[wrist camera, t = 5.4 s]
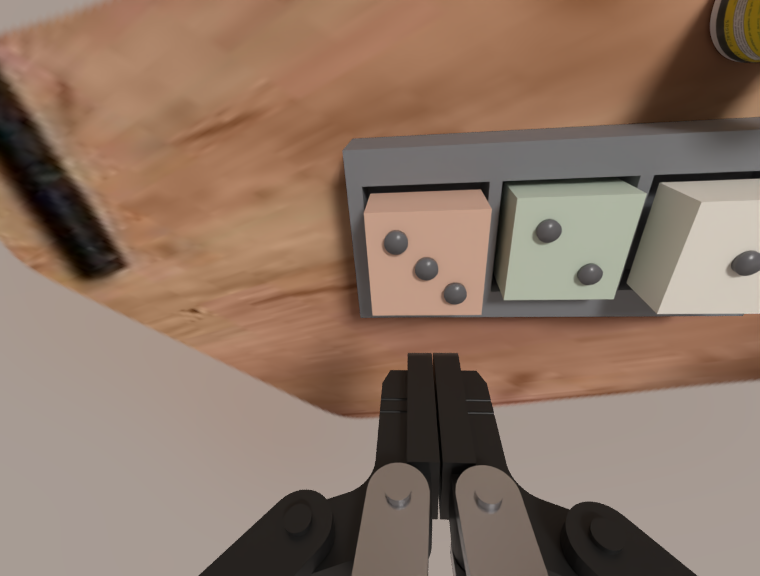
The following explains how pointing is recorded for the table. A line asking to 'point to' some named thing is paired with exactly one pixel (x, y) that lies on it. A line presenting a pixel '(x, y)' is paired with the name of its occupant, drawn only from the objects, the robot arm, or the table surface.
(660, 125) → the well board
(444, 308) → the tile three
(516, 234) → the tile two
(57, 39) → the table surface
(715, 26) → the supplement bottle
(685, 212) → the tile one
